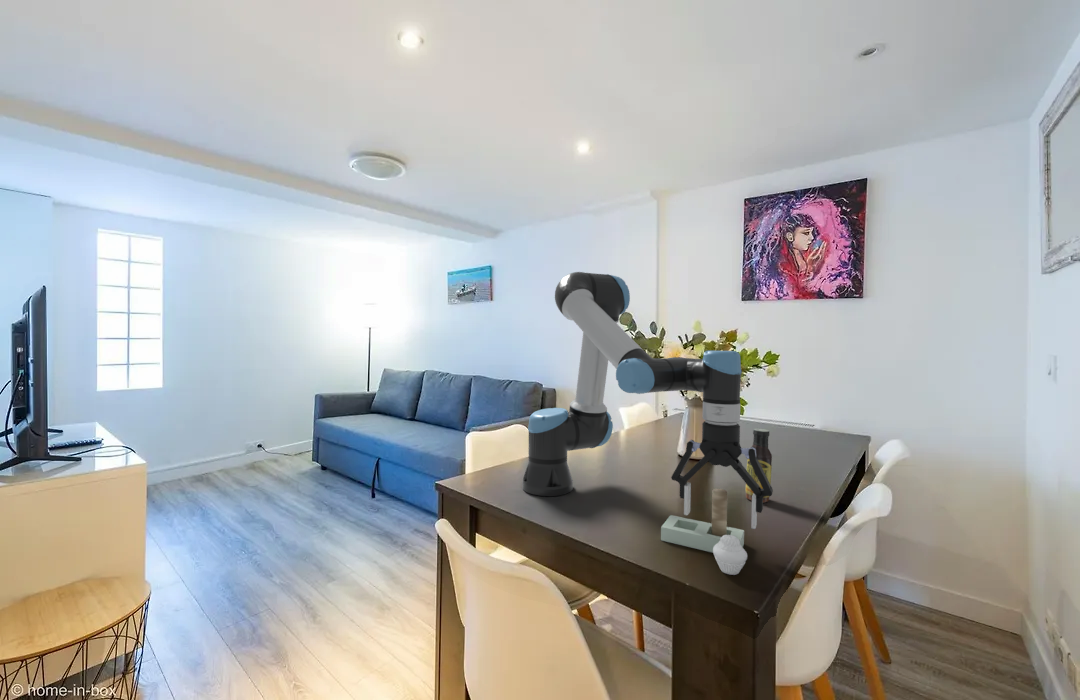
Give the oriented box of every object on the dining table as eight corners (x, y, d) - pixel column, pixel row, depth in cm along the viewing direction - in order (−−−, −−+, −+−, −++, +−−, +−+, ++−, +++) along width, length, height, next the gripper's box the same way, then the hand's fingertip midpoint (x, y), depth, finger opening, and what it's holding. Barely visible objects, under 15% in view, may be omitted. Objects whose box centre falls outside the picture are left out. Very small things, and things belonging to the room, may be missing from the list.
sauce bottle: (742, 499, 125) (743, 429, 125) (749, 494, 130) (750, 426, 130) (767, 505, 121) (768, 432, 120) (774, 499, 125) (775, 429, 125)
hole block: (660, 540, 99) (661, 526, 99) (670, 527, 106) (670, 515, 106) (738, 558, 91) (739, 544, 91) (743, 543, 98) (744, 530, 98)
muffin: (740, 582, 82) (741, 545, 82) (707, 571, 86) (708, 535, 86) (751, 570, 87) (752, 534, 87) (719, 559, 91) (719, 525, 91)
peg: (710, 546, 96) (711, 491, 96) (712, 541, 99) (713, 487, 99) (725, 550, 95) (726, 494, 95) (727, 544, 97) (728, 490, 97)
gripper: (658, 418, 100) (657, 513, 100) (786, 431, 87) (784, 539, 87) (667, 414, 106) (666, 503, 106) (787, 425, 93) (785, 526, 94)
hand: (719, 519), depth 97 cm, fingers open, 13 cm apart
